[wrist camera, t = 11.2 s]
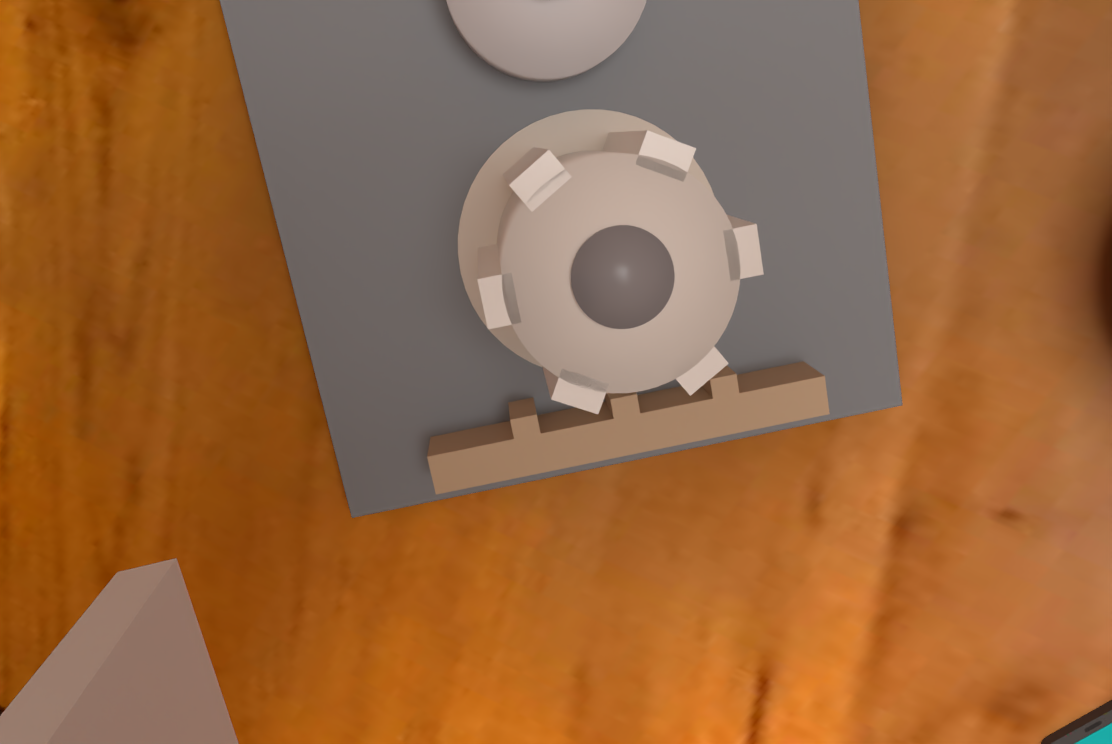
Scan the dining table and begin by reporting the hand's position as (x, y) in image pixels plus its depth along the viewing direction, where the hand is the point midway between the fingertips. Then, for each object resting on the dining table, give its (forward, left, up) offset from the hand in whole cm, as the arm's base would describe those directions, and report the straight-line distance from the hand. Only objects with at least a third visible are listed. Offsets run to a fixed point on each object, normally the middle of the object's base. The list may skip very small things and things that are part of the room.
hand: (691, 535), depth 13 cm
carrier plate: (+1, +4, -19) cm, 19 cm away
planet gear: (+1, +2, -18) cm, 18 cm away
